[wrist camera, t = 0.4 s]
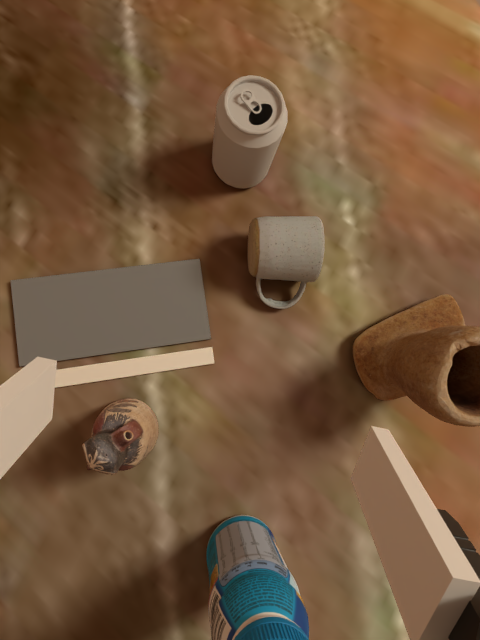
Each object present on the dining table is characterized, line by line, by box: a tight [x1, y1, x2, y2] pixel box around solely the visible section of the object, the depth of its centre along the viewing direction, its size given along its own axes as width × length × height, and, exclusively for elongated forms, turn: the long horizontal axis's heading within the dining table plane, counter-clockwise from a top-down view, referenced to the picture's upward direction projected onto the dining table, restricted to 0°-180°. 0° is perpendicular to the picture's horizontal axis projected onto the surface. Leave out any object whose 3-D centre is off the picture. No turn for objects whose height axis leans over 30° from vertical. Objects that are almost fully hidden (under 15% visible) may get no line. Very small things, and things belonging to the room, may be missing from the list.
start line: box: [55, 347, 214, 388], centre depth 45 cm, size 2×22×1 cm, turn 98°
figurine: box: [82, 398, 159, 474], centre depth 39 cm, size 7×7×12 cm
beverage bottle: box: [206, 515, 309, 640], centre depth 35 cm, size 8×8×20 cm
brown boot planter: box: [353, 294, 480, 426], centre depth 42 cm, size 15×12×15 cm
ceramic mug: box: [248, 216, 324, 309], centre depth 45 cm, size 11×8×8 cm
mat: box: [11, 259, 211, 366], centre depth 45 cm, size 10×22×1 cm, turn 99°
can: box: [212, 75, 287, 188], centre depth 44 cm, size 8×8×12 cm
